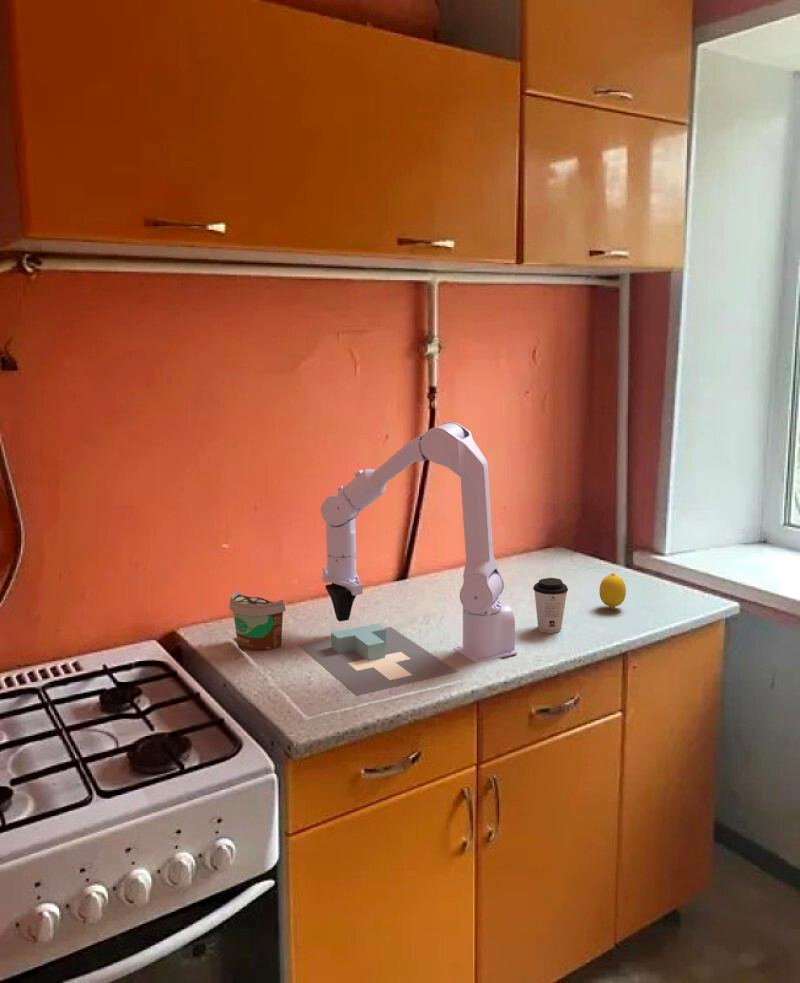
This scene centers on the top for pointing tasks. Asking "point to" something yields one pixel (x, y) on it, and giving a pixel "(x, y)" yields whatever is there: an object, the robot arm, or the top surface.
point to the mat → (379, 664)
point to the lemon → (612, 590)
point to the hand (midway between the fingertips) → (342, 619)
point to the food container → (257, 622)
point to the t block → (361, 641)
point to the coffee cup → (550, 604)
